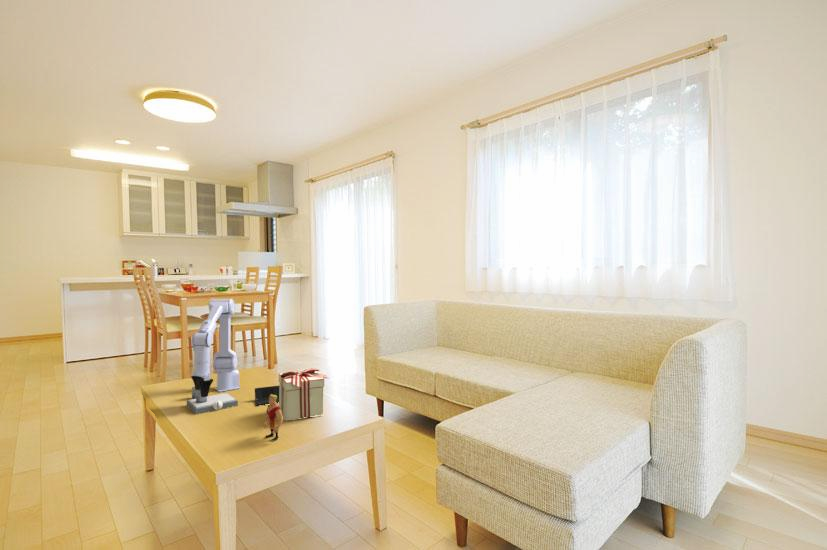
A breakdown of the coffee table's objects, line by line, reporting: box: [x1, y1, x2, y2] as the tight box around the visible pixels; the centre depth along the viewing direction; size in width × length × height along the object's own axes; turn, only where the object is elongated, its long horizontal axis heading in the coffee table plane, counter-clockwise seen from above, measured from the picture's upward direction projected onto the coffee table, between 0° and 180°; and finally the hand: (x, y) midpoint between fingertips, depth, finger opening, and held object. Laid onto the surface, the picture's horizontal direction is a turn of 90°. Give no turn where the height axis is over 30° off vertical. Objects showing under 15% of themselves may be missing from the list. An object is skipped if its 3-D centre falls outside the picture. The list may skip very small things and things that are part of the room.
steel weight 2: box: [196, 389, 208, 403], centre depth 167 cm, size 4×4×5 cm
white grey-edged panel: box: [186, 392, 239, 415], centre depth 169 cm, size 16×15×4 cm
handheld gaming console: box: [254, 385, 280, 407], centre depth 176 cm, size 12×7×10 cm
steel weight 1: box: [191, 385, 196, 399], centre depth 179 cm, size 4×4×5 cm
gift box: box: [278, 367, 329, 422], centre depth 160 cm, size 17×18×17 cm
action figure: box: [262, 394, 284, 441], centre depth 136 cm, size 10×4×15 cm, turn 47°
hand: (201, 394), depth 167 cm, fingers open, 7 cm apart
